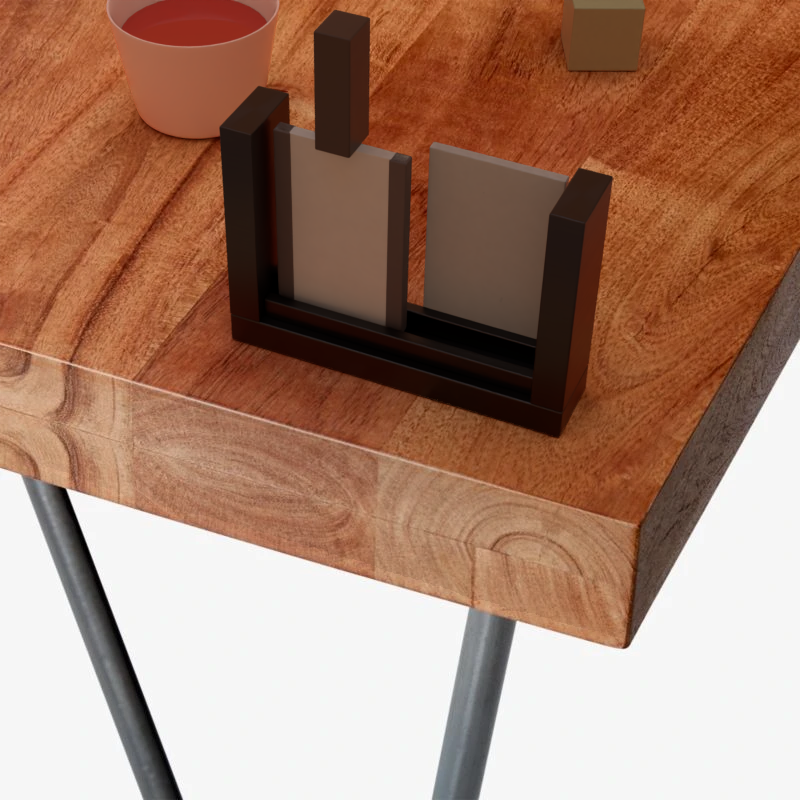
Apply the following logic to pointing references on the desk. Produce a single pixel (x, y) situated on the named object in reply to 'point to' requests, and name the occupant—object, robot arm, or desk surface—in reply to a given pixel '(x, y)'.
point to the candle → (193, 58)
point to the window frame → (439, 280)
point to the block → (602, 34)
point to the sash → (342, 191)
